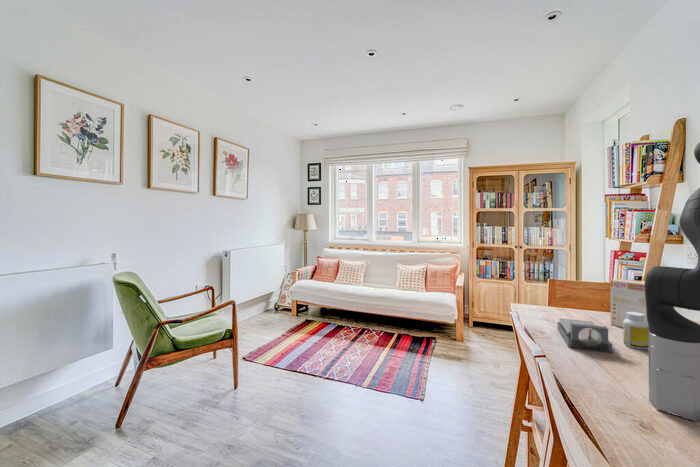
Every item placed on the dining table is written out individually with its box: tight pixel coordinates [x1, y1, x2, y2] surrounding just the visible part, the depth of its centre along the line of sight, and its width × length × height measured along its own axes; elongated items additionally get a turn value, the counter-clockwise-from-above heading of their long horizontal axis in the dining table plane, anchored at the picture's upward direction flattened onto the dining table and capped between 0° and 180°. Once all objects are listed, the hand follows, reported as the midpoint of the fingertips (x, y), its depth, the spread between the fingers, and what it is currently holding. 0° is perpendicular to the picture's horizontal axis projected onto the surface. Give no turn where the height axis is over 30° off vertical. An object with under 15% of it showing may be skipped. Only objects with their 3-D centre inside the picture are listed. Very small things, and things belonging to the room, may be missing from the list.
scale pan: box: [558, 317, 597, 335], centre depth 112 cm, size 16×11×1 cm, turn 154°
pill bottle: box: [622, 312, 649, 350], centre depth 104 cm, size 6×6×12 cm
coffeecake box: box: [609, 277, 648, 328], centre depth 120 cm, size 15×7×20 cm, turn 22°
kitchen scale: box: [556, 321, 613, 354], centre depth 110 cm, size 21×12×8 cm, turn 154°
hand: (685, 304), depth 95 cm, fingers open, 8 cm apart
